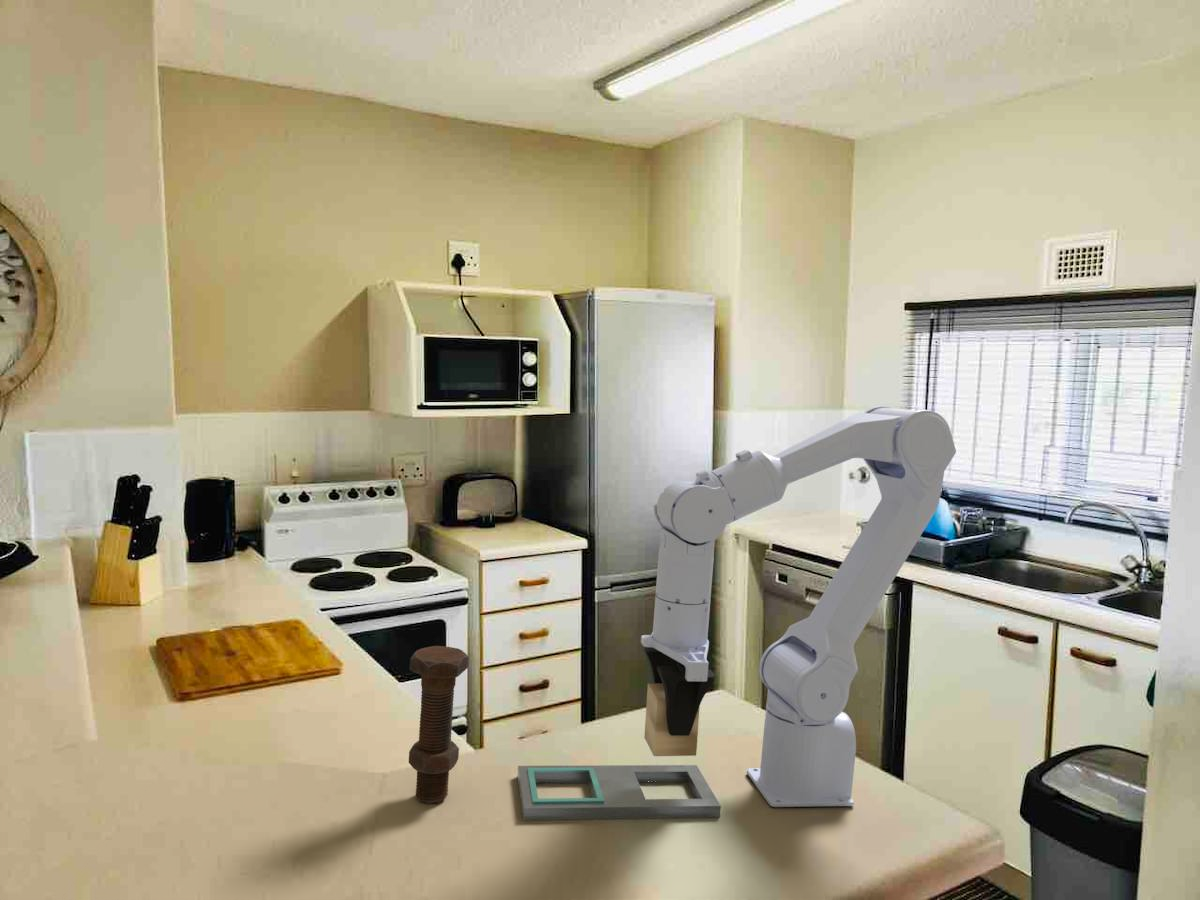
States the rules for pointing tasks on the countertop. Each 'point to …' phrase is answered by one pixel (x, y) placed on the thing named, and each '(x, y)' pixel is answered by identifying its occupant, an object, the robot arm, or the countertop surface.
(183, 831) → the countertop surface
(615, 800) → the grey peg insertion board
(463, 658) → the bolt
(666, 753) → the oak block
